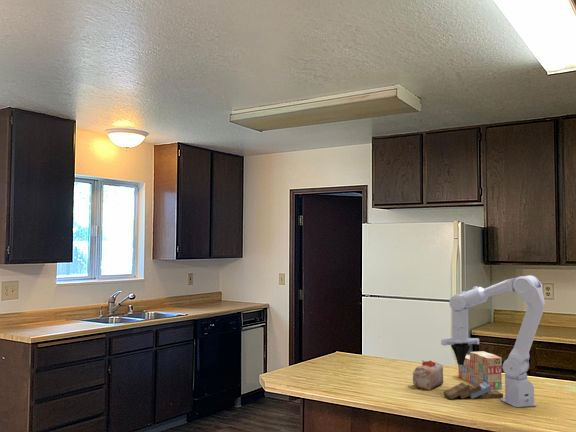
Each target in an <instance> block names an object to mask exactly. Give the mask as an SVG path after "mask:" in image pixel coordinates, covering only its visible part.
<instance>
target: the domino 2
mask: <svg viewBox="0 0 576 432" xmlns="http://www.w3.org/2000/svg"><path fill="white" fill-rule="evenodd" d="M467 385H468V386H469V388H470V390H469V391H467V392H465V393H463V394H461V395H459V396H457V397H458V398H460V399H461V400H463V399H466V398H467V397H468V396H469V395H471V394H474V393H476V392H478V391H480V390H482V389H481V386H480V385H478V384H477V383H475V382H473V383H469V384H467Z"/></svg>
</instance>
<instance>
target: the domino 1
mask: <svg viewBox="0 0 576 432" xmlns="http://www.w3.org/2000/svg"><path fill="white" fill-rule="evenodd" d="M468 385H469V384H465V383H463V382H461V383H458V384H456V385H455V386H453V387H450V388H448V389H446V390H445V391H443V392H442V394H443V396H444V397H445V398H447V399H448V400H453V399H455V398H457V397H458V396H459V395H461V394H463V393H465V392H467V391H469V390H470V388H469V386H468Z"/></svg>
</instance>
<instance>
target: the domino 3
mask: <svg viewBox="0 0 576 432" xmlns="http://www.w3.org/2000/svg"><path fill="white" fill-rule="evenodd" d="M477 398H480V399H481V400H490V399H492V400H493V399H502V398H504V393H502V392H500V391H499V390H491V391H489V392H487V393H484V394H482V395H480V396H478V397H477Z"/></svg>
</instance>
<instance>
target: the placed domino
mask: <svg viewBox="0 0 576 432" xmlns="http://www.w3.org/2000/svg"><path fill="white" fill-rule="evenodd" d="M480 386H481V389H482V390H480V391H478V392H476V393H474V394H471V395H469V396H467V397H468V398H470V399H471V400H473V399H475V398H479V397H478V396H480V395H482V394H484V393H487V392H489V391H492V388H491V386H490V385H488V384H487V383H485V382H484V383H482V384H480Z"/></svg>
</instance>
